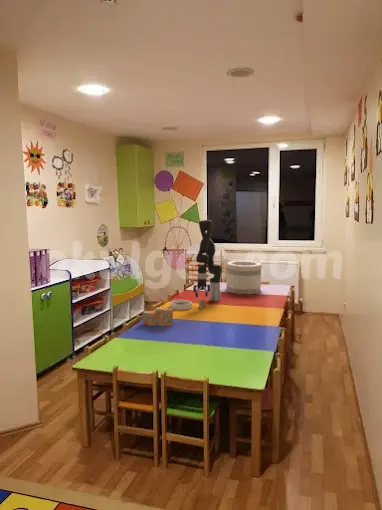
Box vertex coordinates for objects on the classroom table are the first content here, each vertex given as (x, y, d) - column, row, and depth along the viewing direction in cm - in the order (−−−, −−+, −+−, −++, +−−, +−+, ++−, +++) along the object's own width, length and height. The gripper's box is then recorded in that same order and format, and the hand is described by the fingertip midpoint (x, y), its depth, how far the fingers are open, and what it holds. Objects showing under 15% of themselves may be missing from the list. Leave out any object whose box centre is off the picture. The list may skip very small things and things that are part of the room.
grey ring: (186, 303, 369) (186, 299, 369) (194, 308, 353) (195, 304, 352) (167, 305, 363) (167, 300, 362) (174, 310, 346) (174, 305, 346)
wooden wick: (203, 307, 359) (203, 299, 358) (205, 308, 356) (205, 300, 355) (198, 307, 358) (199, 299, 357) (200, 308, 354) (200, 300, 353)
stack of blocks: (142, 325, 307) (142, 309, 306) (144, 322, 314) (144, 306, 312) (171, 326, 305) (171, 310, 304) (173, 323, 312) (173, 307, 310)
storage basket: (267, 292, 416) (268, 265, 412) (236, 295, 403) (237, 267, 399) (249, 285, 448) (250, 260, 444) (220, 287, 435) (220, 261, 431)
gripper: (207, 276, 359) (207, 295, 361) (192, 277, 354) (192, 296, 356) (211, 278, 352) (210, 297, 354) (195, 279, 347) (195, 298, 349)
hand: (201, 296), depth 355 cm, fingers open, 8 cm apart
